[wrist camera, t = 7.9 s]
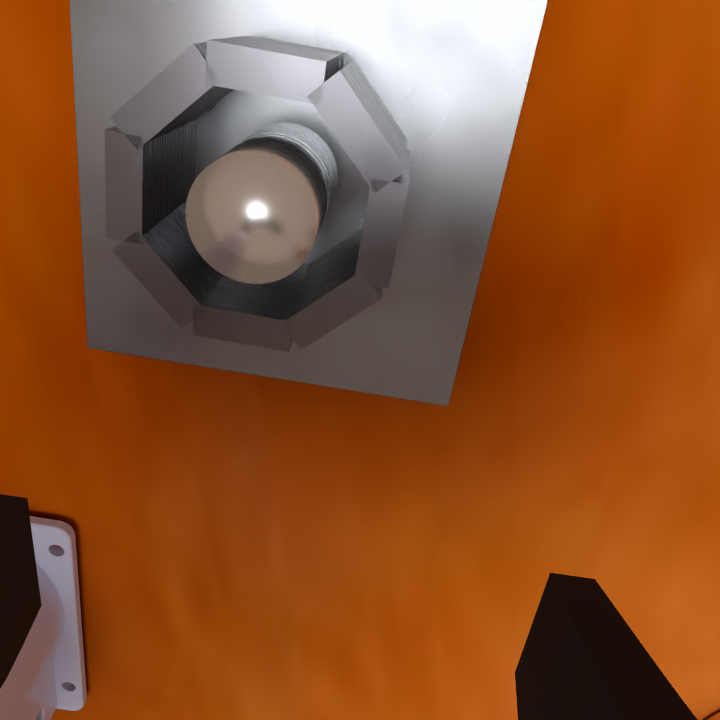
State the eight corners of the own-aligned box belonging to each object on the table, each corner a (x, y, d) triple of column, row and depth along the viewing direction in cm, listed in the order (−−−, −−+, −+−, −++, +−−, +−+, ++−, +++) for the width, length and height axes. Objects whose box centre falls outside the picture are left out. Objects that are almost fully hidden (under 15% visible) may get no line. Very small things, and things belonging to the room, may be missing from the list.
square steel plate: (446, 391, 19) (457, 499, 15) (99, 335, 19) (8, 427, 15) (555, -59, 14) (620, -94, 10) (80, -139, 14) (-69, -209, 9)
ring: (379, 302, 17) (373, 367, 14) (163, 264, 17) (107, 320, 14) (425, 67, 14) (429, 80, 11) (169, 20, 14) (102, 20, 11)
